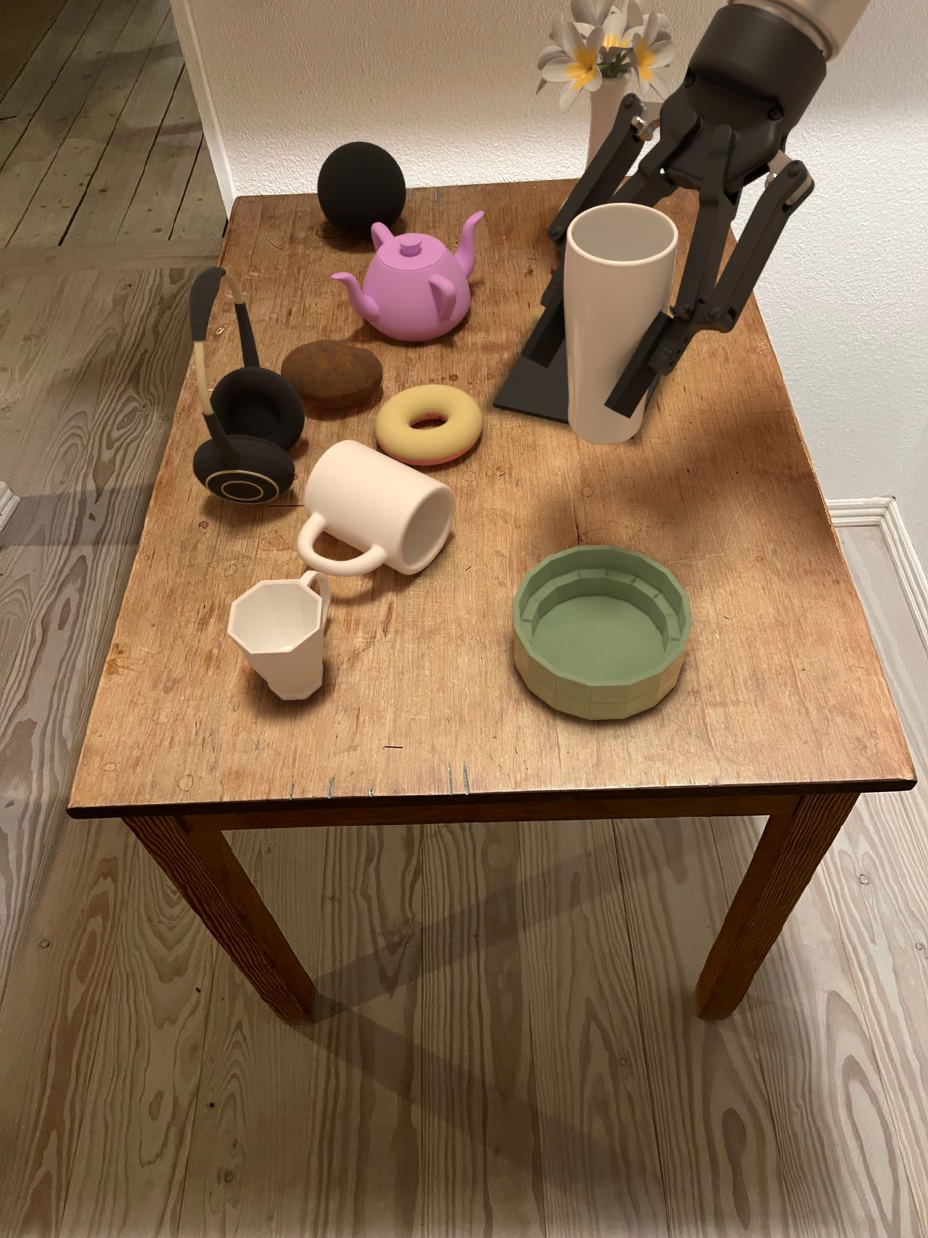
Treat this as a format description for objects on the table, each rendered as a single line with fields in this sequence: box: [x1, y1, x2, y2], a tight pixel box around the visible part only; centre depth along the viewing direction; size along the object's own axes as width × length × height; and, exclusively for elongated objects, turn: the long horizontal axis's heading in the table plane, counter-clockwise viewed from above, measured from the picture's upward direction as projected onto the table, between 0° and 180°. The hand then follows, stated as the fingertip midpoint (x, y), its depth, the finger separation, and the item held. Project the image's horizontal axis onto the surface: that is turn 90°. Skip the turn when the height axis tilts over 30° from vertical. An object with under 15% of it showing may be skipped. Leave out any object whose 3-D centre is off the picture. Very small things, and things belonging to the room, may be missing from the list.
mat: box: [492, 337, 662, 440], centre depth 93 cm, size 14×14×1 cm
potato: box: [280, 338, 384, 409], centre depth 90 cm, size 7×10×6 cm
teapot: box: [330, 210, 485, 343], centre depth 97 cm, size 12×14×9 cm
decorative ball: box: [316, 141, 407, 240], centre depth 107 cm, size 10×10×10 cm
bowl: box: [512, 544, 694, 721], centre depth 71 cm, size 13×13×5 cm
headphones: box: [188, 266, 306, 505], centre depth 79 cm, size 9×15×20 cm, turn 179°
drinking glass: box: [563, 203, 679, 446], centre depth 62 cm, size 7×7×15 cm
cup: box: [226, 570, 332, 701], centre depth 71 cm, size 7×10×8 cm
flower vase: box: [535, 0, 677, 213], centre depth 96 cm, size 13×18×25 cm
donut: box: [374, 383, 484, 466], centre depth 88 cm, size 10×5×9 cm
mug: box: [296, 439, 457, 578], centre depth 77 cm, size 12×10×8 cm
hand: (574, 385), depth 62 cm, fingers closed on drinking glass, 7 cm apart
